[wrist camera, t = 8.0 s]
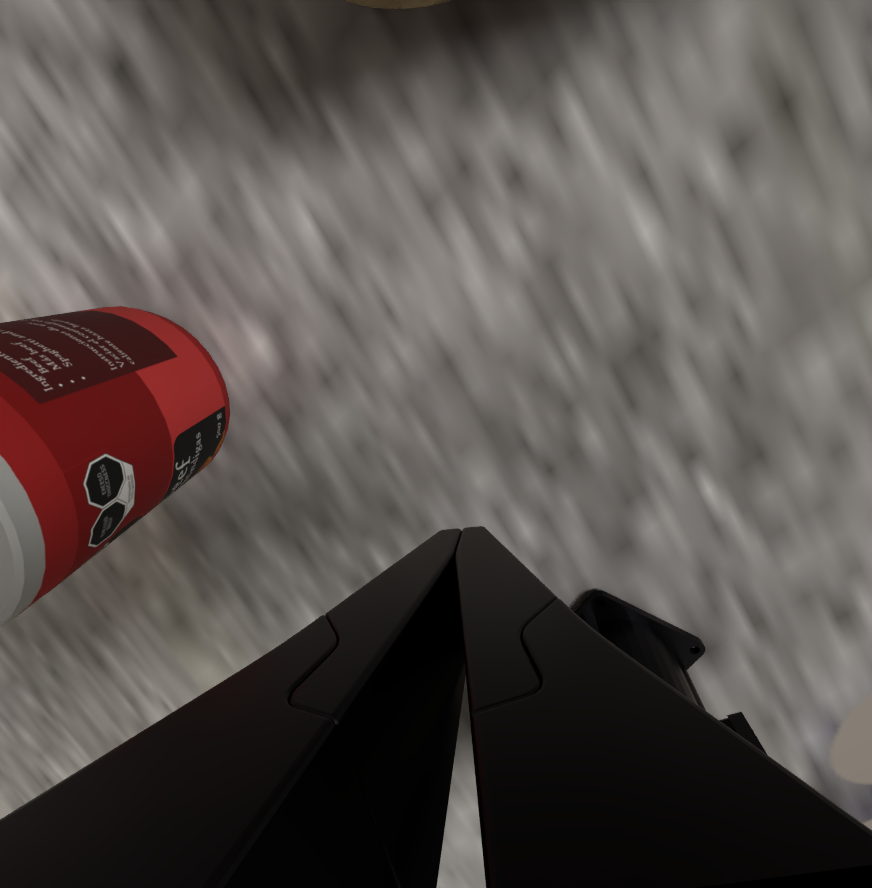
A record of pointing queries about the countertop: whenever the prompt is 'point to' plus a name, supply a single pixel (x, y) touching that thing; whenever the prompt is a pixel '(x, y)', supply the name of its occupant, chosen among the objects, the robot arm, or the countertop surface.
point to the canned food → (94, 436)
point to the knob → (396, 3)
